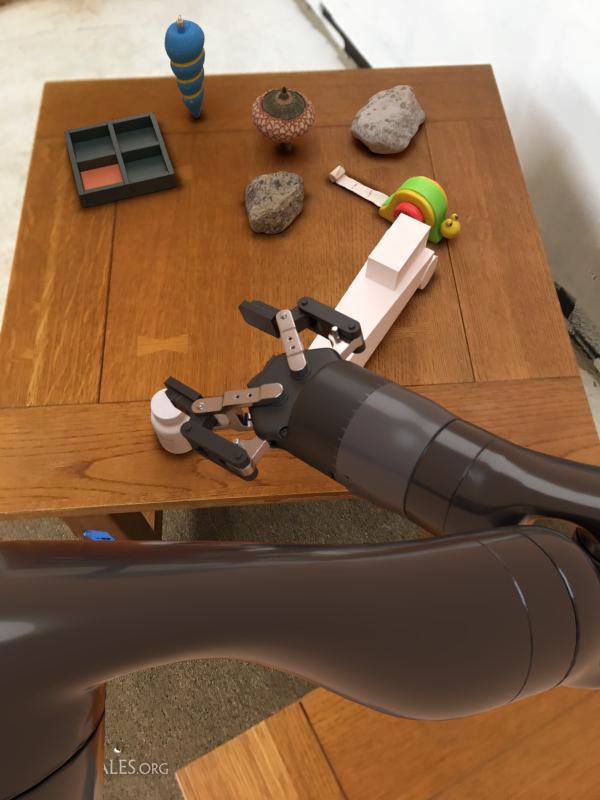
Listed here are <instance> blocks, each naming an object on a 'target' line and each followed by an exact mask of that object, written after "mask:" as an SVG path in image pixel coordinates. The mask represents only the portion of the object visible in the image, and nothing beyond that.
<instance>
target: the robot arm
mask: <svg viewBox="0 0 600 800" xmlns="http://www.w3.org/2000/svg"><path fill="white" fill-rule="evenodd" d="M237 309H238V310H239V312H240V315H241V317H242V319H243V321H244V322H245V323H246V324H247V325H249V326H251V327H253V328H255V329H257V330H259V331H261V332H264V333H265V334H268V335H270V336H272V337H274V338H275V339H281V342H282V345H283V349H284V352H282V353H280V354H278V355H276V354H273V355H272V356H271V357H270V358H269V359H268V360H267V362H266V363H265V365H264V367H263V369H262V370H261V371H260V372H258V373H257V374H255V375H254V376H253V377H252V378H251V379H250V380H249V381H248V382H247V383H246V387H247V388H242V389H234V390H226V391H224V392H223V394H222V395H220V396H212V397H203V395H202V393H200V392H198V391H196V390H195V389H194V388H191V387H190V386H188V385H187V384H185V383H183V382H181V381H180V380H178V379H176V378H175V377H173V376H172V375H170V376H169V377H168V378H167V379H166V380H165V381H164V382H163V385H164V386H165V389H166V388H167V390H166V391H165V394H166V396H167V397H168V399H169V400H170V402H171V403H172V404H173V406H174V407H175V408H177V409H178V410H180V411H181V412H183V413H184V414H186V415H188V416H189V417H190V419H189V421H187V422H185V423H183V424H182V426H181V427H180V432H181V434H182V435H183V437H184V438H186V440H187V441H188V442H189V444H190V445H191V447H192V449H191V450H193V452H195V454H198V455H199V456H201V457H203V458H204V459H206V460H208V461H209V462H212V463H213V464H215V465H217V466H219V467H221V468H222V469H224V470H225V471H227V472H229V473H231V474H233V475H235V476H236V477H238V478H240V479H241V480H243V481H245V482H252V481H254V480H255V479H257V477H258V475H259V469H258V467H257V465H258V464H259V463H260V461H261V460H262V459H263V457H264V456H265V454H267V452H268V451H269V449H272V450H273V449H274V450H275V449H276V450H281V451H285V452H287V453H289V454H290V455H292V456H293V457H294V458H296V459H298V460H300V461H301V462H303V463H304V464H306V465H308V466H310V468H311V467H312V468H313V469H315V470H316V471H318V472H320V473H321V474H322V475H325V476H326V477H328V478H329V479H331V480H333V481H334V482H336V483H337V484H339V485H341V486H343V487H344V488H345V489H346V490H347V491H348V492H349V493H351V494H353V495H354V496H355V497H358V498H362V499H365V500H366V501H367V502H369V503H371V504H373V505H375V506H377V507H379V508H381V509H383V510H385V511H388V512H390V513H393V514H395V515H398V516H399V517H402V518H403V519H405V520H407V521H409V522H410V523H412V524H414V525H416V526H417V527H419V528H421V529H423V530H424V531H425V532H428V533H429V534H431V535H432V536H429V537H428V536H427V537H421V538H416V539H415V538H413V539H404V540H396V541H395V540H394V541H385V542H367V543H366V542H362V543H361V542H360V543H313V542H311V543H307V542H275V541H274V542H273V541H245V540H244V541H240V540H239V541H238V540H194V539H193V540H190V539H189V540H188V539H186V540H185V539H183V540H182V539H180V540H179V539H175V540H173V539H171V540H168V539H167V540H166V539H165V540H164V539H163V540H161V539H160V540H159V539H158V540H155V539H154V540H149V539H147V540H143V539H142V540H141V539H138V540H136V539H135V540H131V539H129V540H126V539H124V540H123V539H119V540H117V539H116V540H115V539H112V540H111V539H14V540H13V539H12V540H8V539H7V540H0V800H105V794H104V781H105V780H104V779H105V739H106V737H105V736H106V700H107V685H108V683H107V682H109V681H112V680H114V679H117V678H120V677H124V676H127V675H130V674H134V673H138V672H141V671H145V670H149V669H152V668H153V669H154V668H158V667H163V666H168V665H172V664H177V663H184V662H191V661H203V660H204V661H205V660H207V661H208V660H223V661H225V660H226V661H230V660H231V661H237V662H244V663H249V664H256V665H259V666H262V667H265V668H268V669H271V670H275V671H277V672H282V673H285V674H287V675H290V676H293V677H296V678H297V679H300V680H303V681H305V682H307V683H311V684H313V685H314V686H317V687H319V688H321V689H324V690H326V691H328V692H330V693H332V694H334V695H336V696H338V697H341V698H343V699H345V700H347V701H350V702H352V703H355V704H358V705H360V706H363V707H365V708H367V709H370V710H373V711H375V712H378V713H380V714H383V715H387V716H391V717H394V718H397V719H405V720H411V721H423V722H424V721H426V722H445V721H456V720H461V719H464V718H469V717H473V716H477V715H479V714H484V713H486V712H491V711H493V710H497V709H499V708H502V707H505V706H508V705H511V704H514V703H517V702H520V701H522V700H525V699H528V698H532V697H534V696H537V695H539V694H543V693H545V692H548V691H552V690H554V689H556V688H558V687H564V688H573V689H580V690H581V689H582V690H600V465H597V464H596V465H595V464H591V463H586V462H581V461H576V460H572V459H569V458H565V457H561V456H557V455H552V454H550V453H549V454H548V453H544V452H541V451H538V450H534V449H532V448H528V447H525V446H522V445H520V444H517V443H515V442H512V441H510V440H508V439H506V438H504V437H502V436H501V435H500V436H499V435H497V434H495V433H493V432H491V431H490V430H487V429H485V428H483V427H481V426H478V425H477V424H475V423H473V422H470V421H469V420H467V419H466V420H465V419H464V418H462V417H460V416H459V415H456V414H455V413H453V412H452V411H450V410H448V409H447V408H446V407H445V406H443V405H441V404H439V402H437V401H435V400H433V399H431V398H429V397H427V396H425V395H423V394H421V393H419V392H417V391H415V390H412V389H410V388H408V387H405V386H404V385H402V384H399V383H398V382H395V381H393V380H391V379H389V378H388V377H385V376H383V375H381V374H379V373H376V372H375V371H372V370H370V369H368V368H366V367H364V366H363V367H362V366H359V365H357V364H355V363H353V362H351V361H348V360H346V359H347V357H348V356H349V355H350V354H351V353H354V354H360V353H362V352H363V351H364V350H365V349H366V345H365V341H364V337H363V333H362V329H361V326H360V323H359V322H358V321H357V320H355V319H353V318H351V317H349V316H347V315H345V314H343V313H341V312H339V311H337V310H335V308H333V307H330V306H328V305H326V304H324V303H322V302H320V301H319V300H316V299H314V298H313V297H310V296H302V297H301V298H299V299H298V300H297V302H296V306H294V307H292V308H291V309H279V308H277V307H274V306H272V305H271V304H269V303H266V302H264V301H261V300H256V299H255V300H254V299H253V300H252V301H249V300H246V299H244V300H243V301H241V303H239V305H238V307H237ZM307 329H308V331H311V332H313V333H315V334H316V335H320V336H322V337H324V338H326V339H328V340H330V343H331V346H332V347H333V348H327V347H326V348H316V349H309V348H307V349H305V348H304V344H303V342H302V339H301V336H300V334H301V332H303V331H305V330H307ZM243 408H247V409H248V412H246V411H244V409H243ZM225 430H234V431H235V432H239V433H240V432H251V431H253V432H254V434H255V436H254V437H253V438H251V439H245V438H238V437H234V438H233V439H232V440H229V439H227V438H225V437H223V436H222V435H219V434H218V433H216V431H225ZM537 520H554V521H560V522H562V521H563V522H565V523H568V524H571V525H573V526H574V527H575V529H574V531H573V533H572V535H571V537H569V536H567V535H566V534H564V533H563V532H560V531H558V530H556V529H554V528H551V527H547V526H543V525H537V524H535V522H536V521H537Z"/></svg>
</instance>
